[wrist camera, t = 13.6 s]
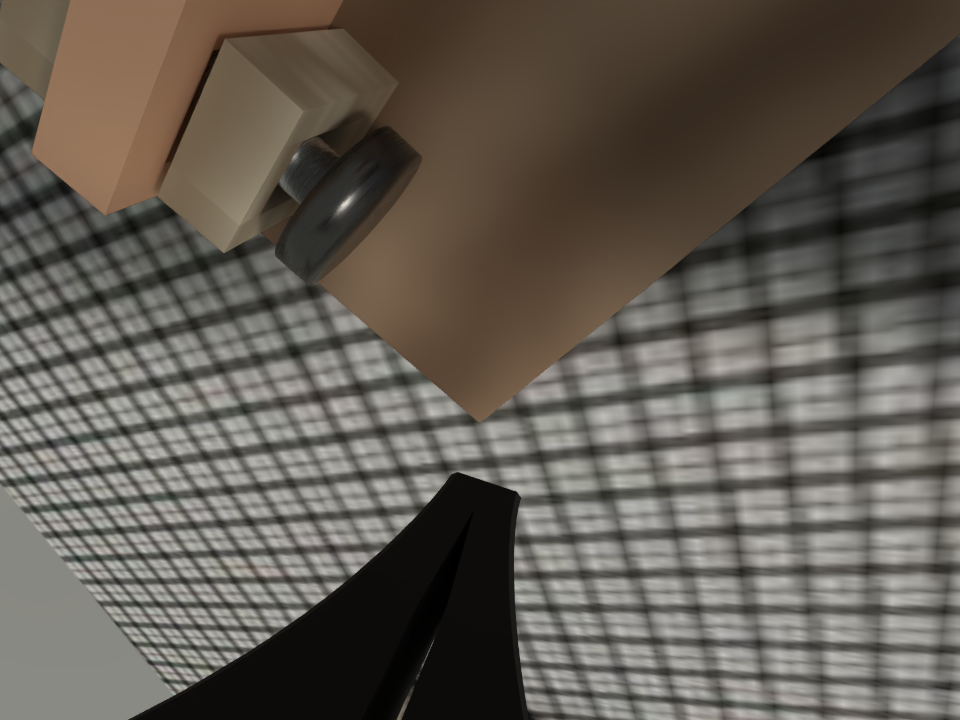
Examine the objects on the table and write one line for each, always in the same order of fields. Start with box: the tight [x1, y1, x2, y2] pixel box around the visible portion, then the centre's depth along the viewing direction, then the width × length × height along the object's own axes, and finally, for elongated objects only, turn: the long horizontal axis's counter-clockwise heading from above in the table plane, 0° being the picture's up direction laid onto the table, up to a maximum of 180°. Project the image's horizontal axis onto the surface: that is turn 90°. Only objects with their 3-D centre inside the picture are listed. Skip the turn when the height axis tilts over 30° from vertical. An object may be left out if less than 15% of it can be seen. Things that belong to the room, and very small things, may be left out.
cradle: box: [0, 0, 960, 423], centre depth 13 cm, size 18×18×6 cm
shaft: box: [190, 49, 422, 285], centre depth 14 cm, size 8×4×4 cm, turn 50°
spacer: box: [31, 0, 343, 215], centre depth 14 cm, size 2×6×6 cm, turn 140°
